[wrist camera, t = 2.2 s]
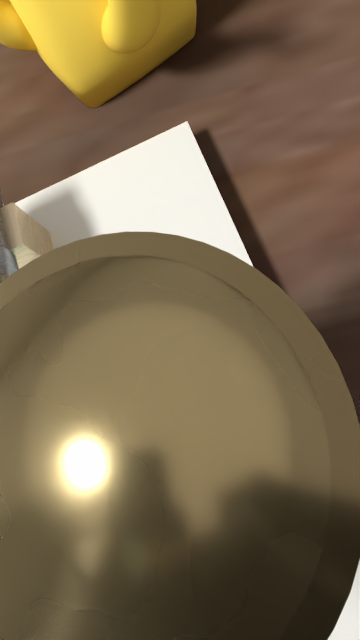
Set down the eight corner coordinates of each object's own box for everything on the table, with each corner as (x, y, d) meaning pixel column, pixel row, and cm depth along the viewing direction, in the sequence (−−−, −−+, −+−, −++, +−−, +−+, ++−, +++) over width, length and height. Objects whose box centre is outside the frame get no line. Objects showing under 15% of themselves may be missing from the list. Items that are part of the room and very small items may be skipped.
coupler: (294, 446, 14) (489, 672, 3) (184, 483, 15) (-62, 807, 3) (248, 336, 15) (239, 164, 4) (149, 375, 16) (-111, 322, 4)
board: (424, 654, 13) (445, 685, 11) (53, 750, 14) (32, 786, 13) (190, 137, 20) (186, 118, 18) (-39, 244, 22) (-58, 234, 20)
